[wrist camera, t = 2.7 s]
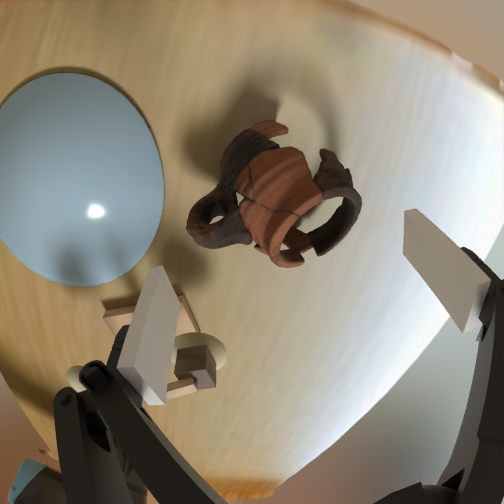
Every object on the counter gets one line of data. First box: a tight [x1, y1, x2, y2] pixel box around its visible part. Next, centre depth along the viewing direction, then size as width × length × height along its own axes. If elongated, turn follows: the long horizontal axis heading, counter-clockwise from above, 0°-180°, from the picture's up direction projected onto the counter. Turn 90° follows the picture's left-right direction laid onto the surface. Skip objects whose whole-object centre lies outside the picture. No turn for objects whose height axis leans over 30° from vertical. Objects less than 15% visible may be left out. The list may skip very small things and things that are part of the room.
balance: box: [67, 295, 227, 406], centre depth 25 cm, size 16×5×11 cm, turn 103°
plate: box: [0, 73, 165, 286], centre depth 22 cm, size 20×20×1 cm
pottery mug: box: [186, 121, 362, 268], centre depth 22 cm, size 12×10×8 cm
